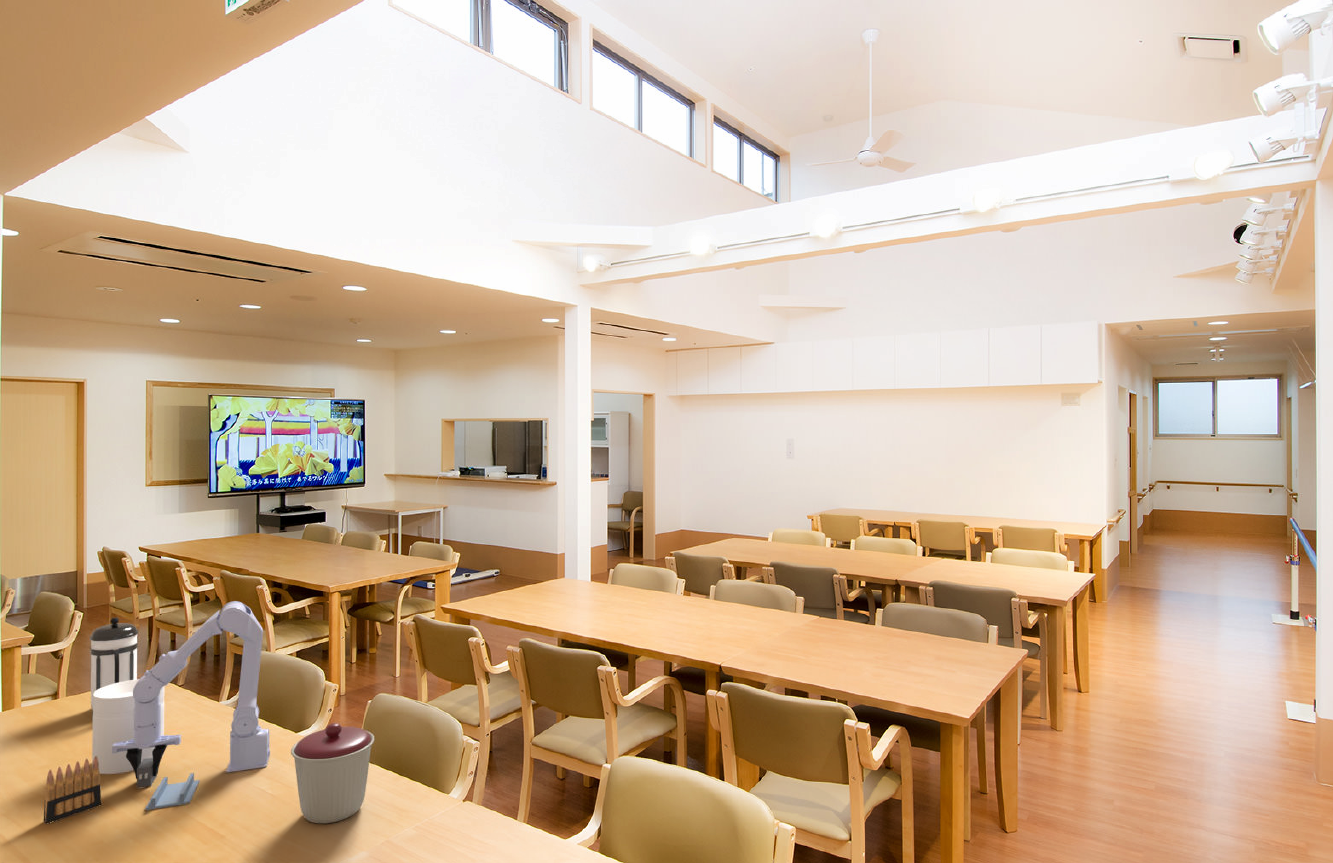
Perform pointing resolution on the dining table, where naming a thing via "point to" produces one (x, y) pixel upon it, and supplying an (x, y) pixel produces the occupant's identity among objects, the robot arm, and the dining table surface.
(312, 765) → the canister
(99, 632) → the coffee press
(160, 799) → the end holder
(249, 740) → the robot arm
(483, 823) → the dining table surface
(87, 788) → the ammunition clip
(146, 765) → the charcoal plug
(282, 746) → the dining table surface
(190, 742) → the dining table surface
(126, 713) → the canister
